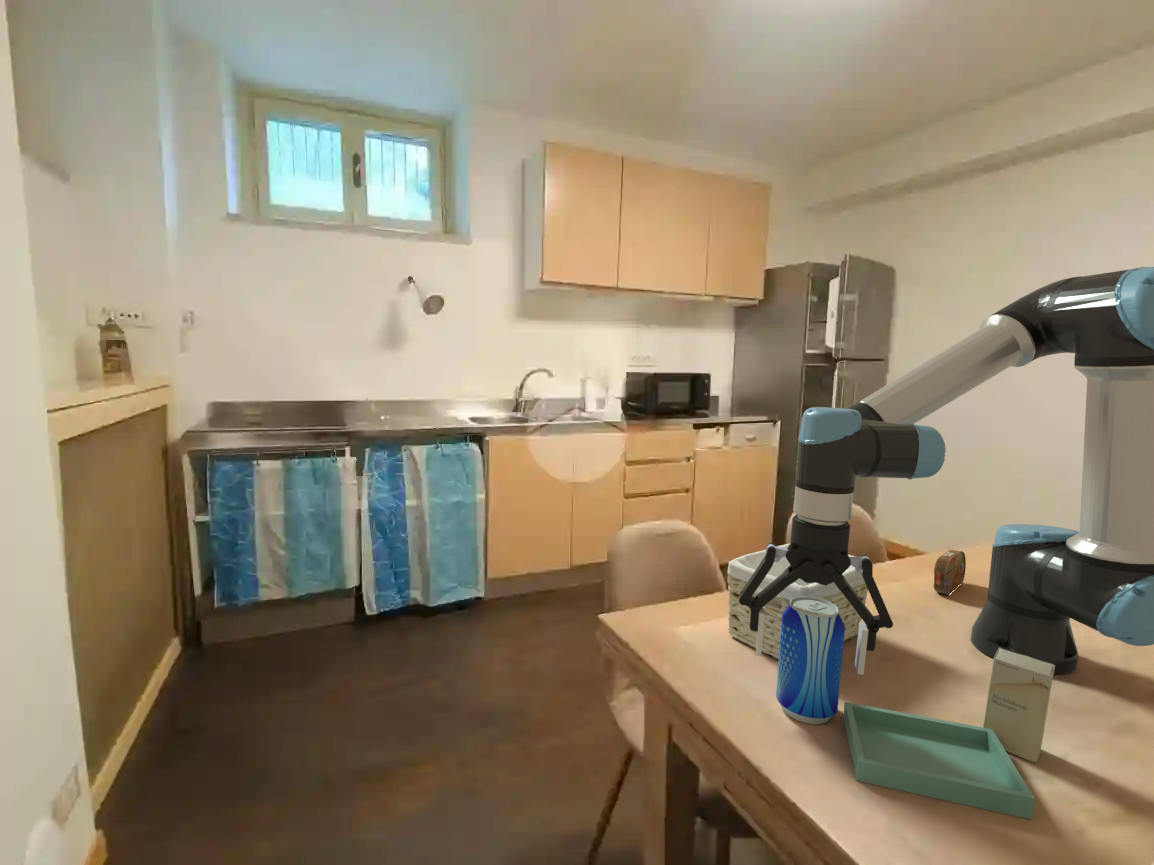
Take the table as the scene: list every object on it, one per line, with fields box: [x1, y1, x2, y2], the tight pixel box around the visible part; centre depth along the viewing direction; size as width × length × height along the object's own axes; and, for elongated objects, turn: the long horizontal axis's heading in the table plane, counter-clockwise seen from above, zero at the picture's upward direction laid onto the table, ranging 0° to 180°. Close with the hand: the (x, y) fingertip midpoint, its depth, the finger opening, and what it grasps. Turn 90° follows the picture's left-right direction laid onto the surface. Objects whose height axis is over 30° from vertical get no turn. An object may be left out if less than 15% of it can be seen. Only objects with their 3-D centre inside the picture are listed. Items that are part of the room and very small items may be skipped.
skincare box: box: [982, 648, 1055, 764], centre depth 77 cm, size 6×4×12 cm
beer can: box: [775, 596, 845, 725], centre depth 84 cm, size 8×8×16 cm
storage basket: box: [727, 543, 874, 660], centre depth 107 cm, size 24×16×15 cm
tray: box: [842, 701, 1036, 821], centre depth 74 cm, size 18×13×3 cm
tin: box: [933, 549, 967, 596], centre depth 132 cm, size 15×3×8 cm, turn 132°
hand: (807, 660), depth 84 cm, fingers open, 13 cm apart
